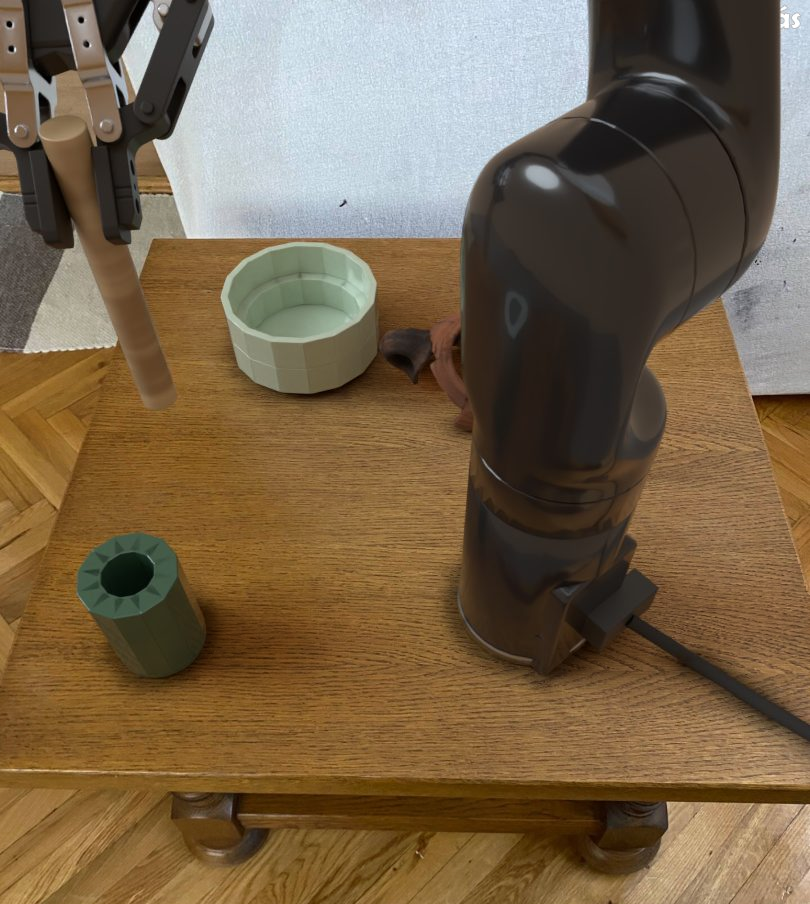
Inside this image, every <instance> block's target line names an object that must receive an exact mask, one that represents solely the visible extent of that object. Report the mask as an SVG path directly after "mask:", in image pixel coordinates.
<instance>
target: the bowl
mask: <svg viewBox="0 0 810 904" xmlns="http://www.w3.org/2000/svg"><path fill="white" fill-rule="evenodd" d="M378 294H379V293H378V282H377V280H376V278H375V276H374V274H373V272H372V269H371V267H370V265H369V264H368V263H367V262H366V261H364V260H363V259H361V258H360V257H359V256H358V255H356V254H354V253H353V252H352V251H351V250H349V249H346V248H343V247H340V246H336V245H333V244H330V243H327V242H318V241H317V242H313V241H312V242H311V241H292V242H287V243H283V244H282V243H281V244H278V245H272V246H268V247H266V248H263V249H261V250H259V251H258V252H255V253H253V254H251V255H250V256H247V257H246V258H244V259H242V260H241V261H240V262H239V263H238V265H236V266H235V267H234V269H232V271H231V272H230V273H228V275H227V276H226V278H225V281H224V284H223V287H222V291H221V294H220V301H221V305H222V309H223V314H224V318H225V321H226V326H227V329H228V330H227V331H228V333H229V338H230V342H231V347H232V350H233V353H234V356H235V360H236V363H237V366H238V369H240V370H241V371H242V372H243V373H244V374H245V375H246V376H247V377H249V379H250V380H252V381H253V382H254V383H255V384H258V385H260V386H263V387H266V388H268V389H271V390H274V391H276V392H279V393H282V394H283V393H285V394H286V393H287V394H306V395H307V394H308V395H310V394H311V395H312V394H317V393H320V392H324V391H328V390H332V389H333V390H334V389H337V388H340V387H342V386H344V385H346V384H347V383H348V382H350V381H352V380H354V379H356V378H357V377H358V376H360V375H362V374H364V372H365V371H366V369H367V368H368V367H369V366H370V364H371V363H372V362H373V361H374V359H375V358H376V357H377V355H378V350H379V343H380V316H379V315H380V314H379V313H380V312H379V296H378Z"/></svg>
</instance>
